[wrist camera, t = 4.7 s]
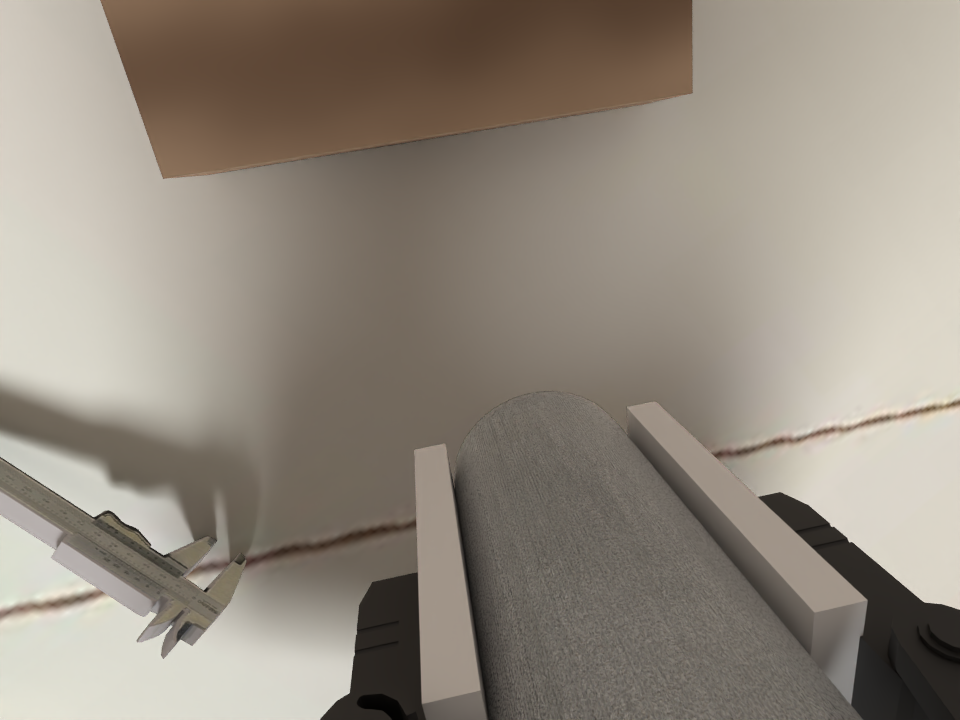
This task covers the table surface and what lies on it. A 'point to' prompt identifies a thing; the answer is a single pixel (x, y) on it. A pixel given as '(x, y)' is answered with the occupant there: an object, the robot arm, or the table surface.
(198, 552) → the caliper
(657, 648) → the grey metal tube
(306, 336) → the table surface
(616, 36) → the socket board
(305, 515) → the table surface
